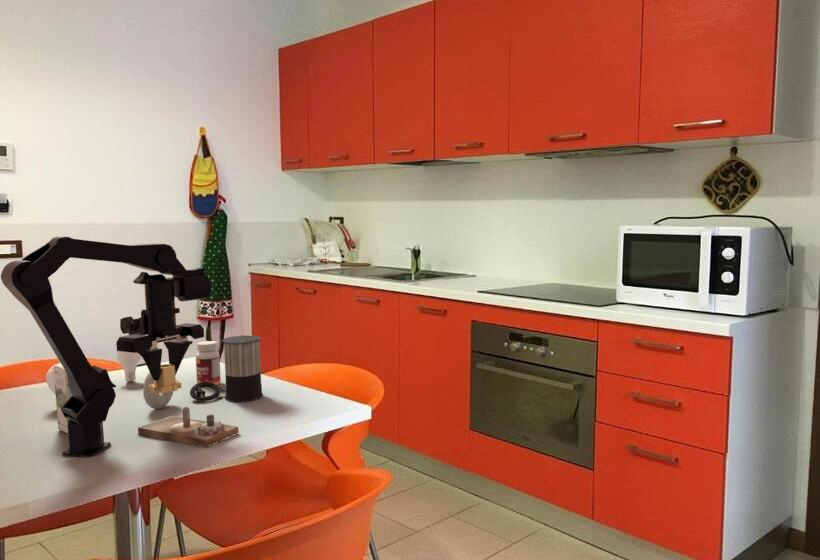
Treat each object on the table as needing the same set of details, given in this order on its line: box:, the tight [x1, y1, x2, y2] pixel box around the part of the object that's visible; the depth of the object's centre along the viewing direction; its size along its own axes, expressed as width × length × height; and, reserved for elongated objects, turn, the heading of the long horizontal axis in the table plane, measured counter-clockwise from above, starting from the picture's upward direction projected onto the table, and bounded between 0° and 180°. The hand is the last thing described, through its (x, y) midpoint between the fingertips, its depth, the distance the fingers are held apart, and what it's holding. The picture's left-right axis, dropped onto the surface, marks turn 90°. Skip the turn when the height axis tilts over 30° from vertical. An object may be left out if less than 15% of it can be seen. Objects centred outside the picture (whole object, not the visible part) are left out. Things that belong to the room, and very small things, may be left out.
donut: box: [142, 371, 174, 410], centre depth 161 cm, size 10×4×10 cm, turn 168°
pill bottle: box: [195, 340, 222, 386], centre depth 183 cm, size 6×6×11 cm
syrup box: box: [52, 363, 92, 435], centre depth 145 cm, size 6×6×14 cm
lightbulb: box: [115, 350, 142, 383], centre depth 187 cm, size 6×6×11 cm
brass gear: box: [149, 363, 182, 393], centre depth 143 cm, size 6×6×5 cm
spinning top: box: [45, 358, 61, 396], centre depth 164 cm, size 8×8×12 cm
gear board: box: [137, 406, 240, 448], centre depth 141 cm, size 19×9×6 cm, turn 63°
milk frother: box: [189, 334, 264, 403], centre depth 168 cm, size 14×16×15 cm
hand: (164, 377), depth 143 cm, fingers closed on brass gear, 4 cm apart
